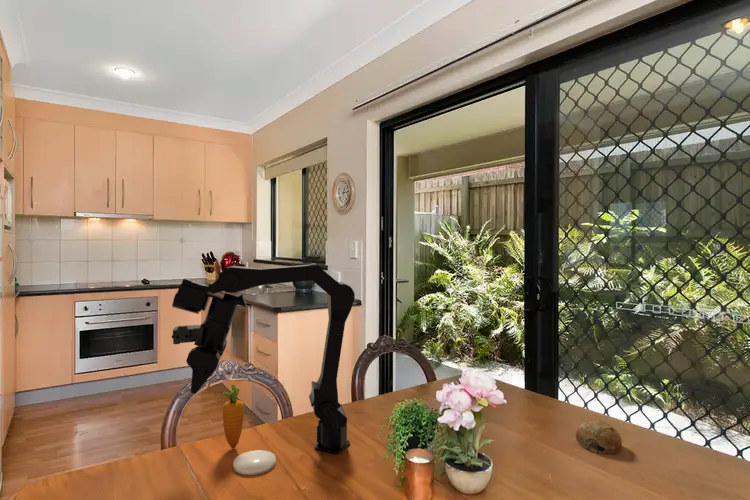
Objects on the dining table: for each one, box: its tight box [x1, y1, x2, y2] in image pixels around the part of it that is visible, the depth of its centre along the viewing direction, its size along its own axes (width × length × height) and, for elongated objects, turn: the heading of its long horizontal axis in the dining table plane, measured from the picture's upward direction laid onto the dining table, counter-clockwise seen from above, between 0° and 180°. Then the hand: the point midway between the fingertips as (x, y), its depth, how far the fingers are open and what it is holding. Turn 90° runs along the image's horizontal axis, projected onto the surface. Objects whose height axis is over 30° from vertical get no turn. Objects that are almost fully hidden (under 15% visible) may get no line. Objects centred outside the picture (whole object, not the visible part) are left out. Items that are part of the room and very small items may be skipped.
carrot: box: [222, 384, 245, 450], centre depth 105 cm, size 5×5×15 cm
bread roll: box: [575, 418, 623, 455], centre depth 108 cm, size 10×10×8 cm
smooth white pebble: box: [232, 449, 277, 476], centre depth 98 cm, size 9×9×1 cm
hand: (196, 386), depth 99 cm, fingers open, 9 cm apart
